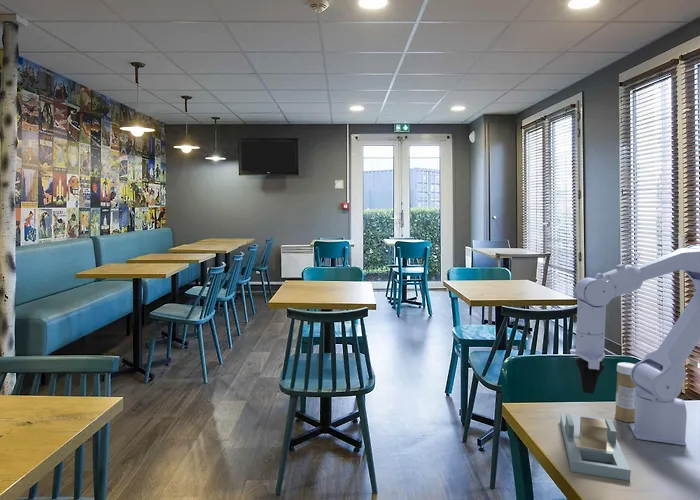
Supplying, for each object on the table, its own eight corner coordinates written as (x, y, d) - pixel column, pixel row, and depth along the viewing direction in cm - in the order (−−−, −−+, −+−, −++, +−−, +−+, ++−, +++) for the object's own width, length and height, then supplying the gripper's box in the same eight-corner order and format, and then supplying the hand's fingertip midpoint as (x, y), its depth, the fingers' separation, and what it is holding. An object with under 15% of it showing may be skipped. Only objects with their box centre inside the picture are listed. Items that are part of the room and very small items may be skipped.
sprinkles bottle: (619, 414, 124) (621, 360, 123) (639, 419, 121) (641, 365, 120) (611, 418, 121) (613, 363, 120) (631, 424, 118) (634, 368, 117)
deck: (607, 427, 116) (607, 408, 116) (630, 480, 92) (631, 456, 92) (560, 421, 119) (561, 403, 119) (571, 471, 95) (572, 448, 95)
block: (603, 440, 104) (604, 419, 104) (606, 450, 100) (607, 428, 100) (579, 437, 106) (580, 416, 105) (581, 446, 102) (582, 424, 101)
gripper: (567, 324, 119) (565, 380, 120) (574, 337, 106) (571, 400, 107) (600, 326, 117) (598, 383, 118) (611, 340, 103) (608, 405, 104)
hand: (587, 392), depth 112 cm, fingers closed
